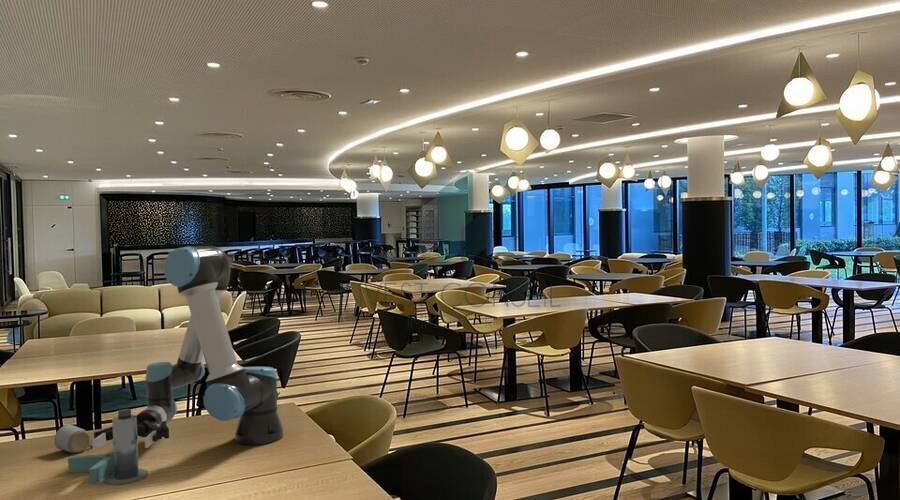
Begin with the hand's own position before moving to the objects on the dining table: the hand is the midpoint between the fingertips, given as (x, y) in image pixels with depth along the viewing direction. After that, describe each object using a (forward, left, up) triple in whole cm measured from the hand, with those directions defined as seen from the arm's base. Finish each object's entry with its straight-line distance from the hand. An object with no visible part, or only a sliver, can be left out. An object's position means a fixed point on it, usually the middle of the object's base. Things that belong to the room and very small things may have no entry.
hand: (120, 444), depth 176 cm
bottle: (0, -3, -10) cm, 10 cm away
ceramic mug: (+25, -30, -10) cm, 40 cm away
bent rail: (+12, -5, -10) cm, 17 cm away
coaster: (0, -3, -10) cm, 11 cm away
